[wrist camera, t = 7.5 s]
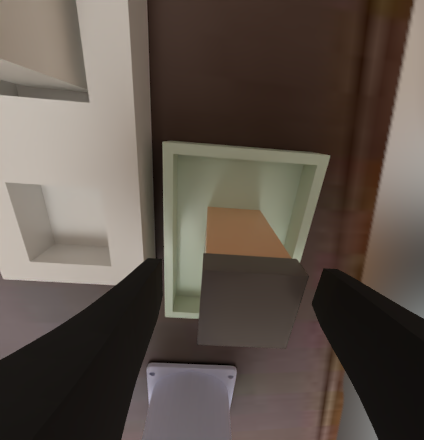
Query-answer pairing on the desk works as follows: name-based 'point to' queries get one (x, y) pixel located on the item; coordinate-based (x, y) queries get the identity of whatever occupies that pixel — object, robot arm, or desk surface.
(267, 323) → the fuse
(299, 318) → the desk surface
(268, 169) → the parts tray
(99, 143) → the block
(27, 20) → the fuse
